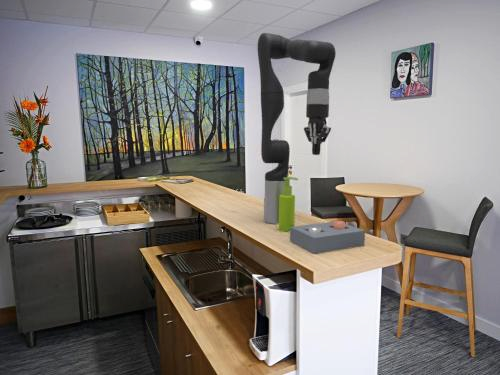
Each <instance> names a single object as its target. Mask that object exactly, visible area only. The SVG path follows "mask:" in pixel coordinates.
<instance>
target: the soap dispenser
mask: <svg viewBox="0 0 500 375" xmlns="http://www.w3.org/2000/svg"><path fill="white" fill-rule="evenodd" d="M283 180H285V185H284V186H283V194H282V195H279V224H278V230H279V231H280V232H286V233H287V232H289V233H290V227H294V226H295V214H296V213H295V210H296V196H295V194H293V192H292V191H293V187H292V185H290V184H291V183H290V182H291V181H290V180H293V181H298V180H299V178H297V177H293V176H292V177H291V176H290V177H289V176H288V177H284V179H283Z"/></svg>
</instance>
